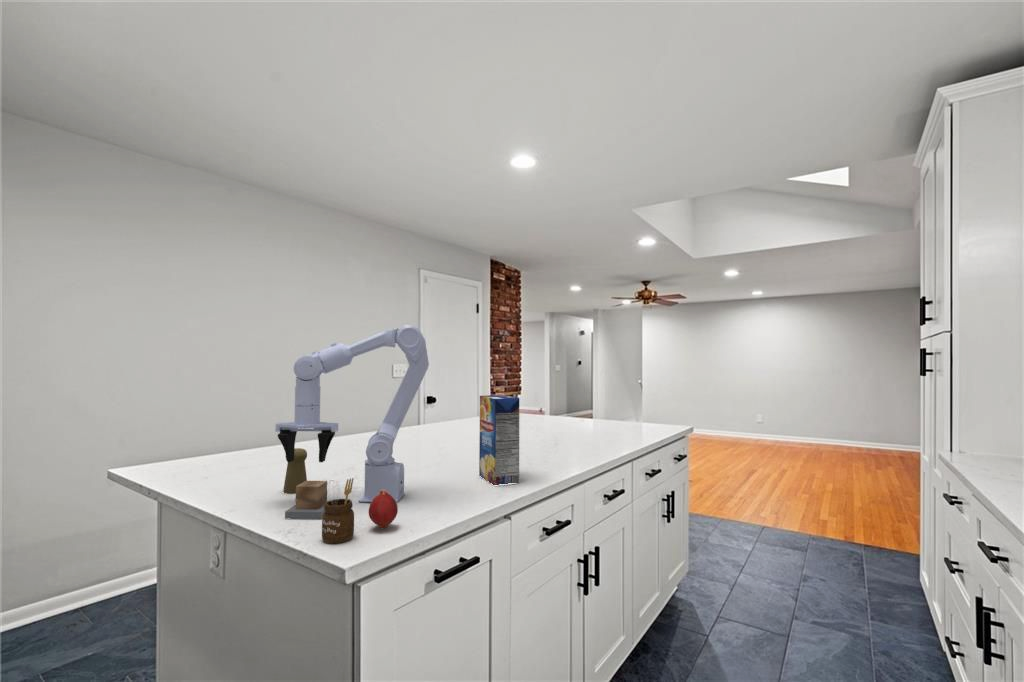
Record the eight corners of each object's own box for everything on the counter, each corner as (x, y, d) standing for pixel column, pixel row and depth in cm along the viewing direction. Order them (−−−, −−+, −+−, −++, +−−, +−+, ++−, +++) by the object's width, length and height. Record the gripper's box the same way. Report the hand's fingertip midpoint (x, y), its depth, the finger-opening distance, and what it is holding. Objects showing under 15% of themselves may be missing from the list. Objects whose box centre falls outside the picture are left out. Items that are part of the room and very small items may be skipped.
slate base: (335, 507, 113) (335, 500, 113) (321, 519, 105) (321, 511, 105) (301, 507, 113) (301, 500, 113) (284, 518, 105) (284, 511, 105)
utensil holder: (339, 531, 98) (340, 471, 98) (361, 537, 95) (362, 475, 95) (314, 540, 93) (315, 477, 93) (337, 547, 90) (338, 482, 90)
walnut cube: (327, 502, 112) (327, 480, 112) (317, 509, 107) (318, 486, 107) (305, 502, 112) (306, 480, 112) (295, 509, 107) (295, 486, 107)
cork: (298, 494, 124) (299, 451, 124) (277, 493, 125) (278, 450, 125) (312, 488, 130) (313, 447, 130) (292, 487, 131) (293, 446, 131)
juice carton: (479, 476, 143) (479, 395, 144) (502, 474, 146) (502, 394, 147) (494, 486, 132) (495, 398, 133) (519, 483, 135) (519, 398, 136)
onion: (371, 523, 102) (372, 485, 103) (399, 523, 103) (399, 485, 103) (365, 533, 97) (366, 493, 97) (395, 532, 97) (395, 492, 97)
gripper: (269, 406, 114) (268, 464, 113) (331, 407, 114) (329, 465, 113) (283, 403, 121) (282, 458, 120) (341, 404, 121) (340, 458, 120)
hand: (306, 461), depth 117 cm, fingers open, 7 cm apart
